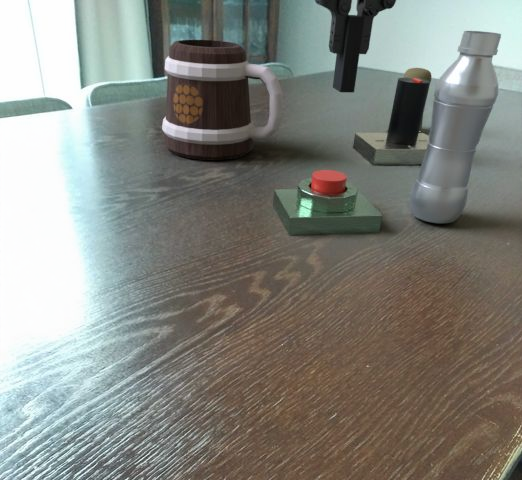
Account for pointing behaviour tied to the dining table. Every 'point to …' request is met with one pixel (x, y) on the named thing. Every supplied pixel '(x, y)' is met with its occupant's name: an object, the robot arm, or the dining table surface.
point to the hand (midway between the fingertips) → (343, 89)
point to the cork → (419, 74)
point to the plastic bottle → (456, 129)
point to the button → (328, 182)
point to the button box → (325, 211)
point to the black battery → (407, 110)
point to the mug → (214, 100)
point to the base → (390, 149)
